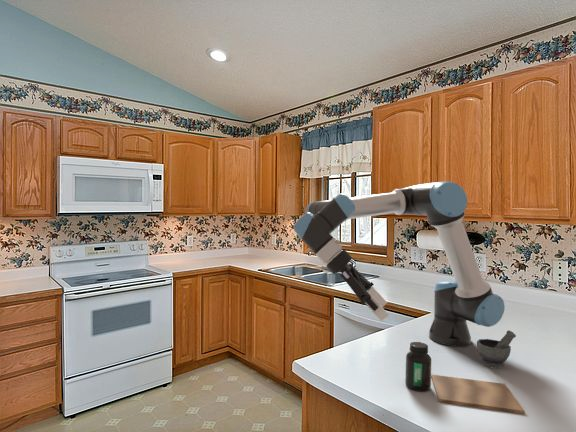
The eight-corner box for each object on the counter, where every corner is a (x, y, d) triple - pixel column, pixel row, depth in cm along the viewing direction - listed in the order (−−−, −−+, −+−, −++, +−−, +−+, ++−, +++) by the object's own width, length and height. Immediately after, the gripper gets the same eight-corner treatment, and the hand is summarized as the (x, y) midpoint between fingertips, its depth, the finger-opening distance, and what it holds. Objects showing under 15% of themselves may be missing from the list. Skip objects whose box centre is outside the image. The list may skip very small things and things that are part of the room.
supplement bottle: (421, 394, 99) (422, 350, 99) (400, 384, 105) (401, 343, 104) (435, 388, 103) (436, 346, 103) (414, 378, 109) (415, 338, 108)
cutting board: (438, 401, 95) (438, 398, 95) (431, 377, 110) (431, 374, 110) (524, 414, 90) (524, 410, 90) (504, 386, 105) (505, 383, 105)
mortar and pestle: (476, 367, 118) (477, 330, 118) (475, 357, 127) (476, 322, 127) (517, 374, 113) (518, 335, 113) (513, 363, 122) (513, 327, 122)
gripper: (339, 253, 96) (396, 314, 93) (346, 244, 120) (392, 293, 117) (318, 271, 97) (374, 333, 94) (330, 259, 122) (375, 308, 118)
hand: (384, 311), depth 106 cm, fingers open, 13 cm apart
